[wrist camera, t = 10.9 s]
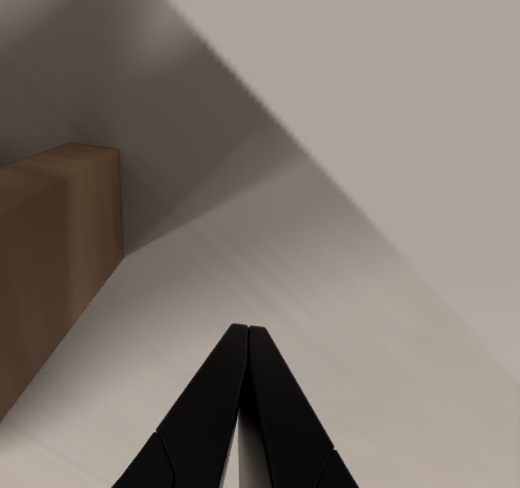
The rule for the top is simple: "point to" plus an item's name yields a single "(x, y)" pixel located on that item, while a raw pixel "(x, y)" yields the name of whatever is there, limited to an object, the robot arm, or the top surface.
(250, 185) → the top surface
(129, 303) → the top surface
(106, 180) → the tile
